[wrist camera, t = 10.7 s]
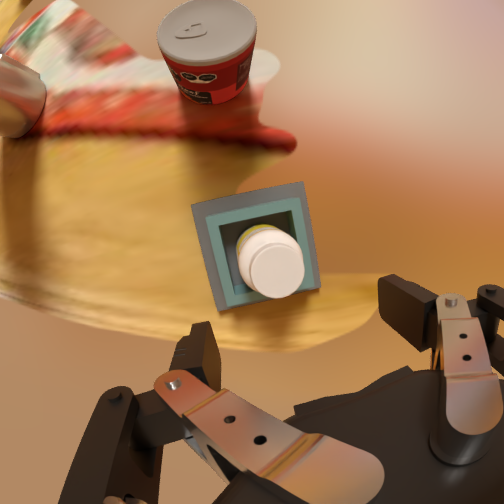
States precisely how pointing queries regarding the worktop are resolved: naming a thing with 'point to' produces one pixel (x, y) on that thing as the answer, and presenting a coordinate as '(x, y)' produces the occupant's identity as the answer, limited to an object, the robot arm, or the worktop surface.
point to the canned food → (208, 48)
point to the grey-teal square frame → (236, 221)
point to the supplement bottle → (270, 260)
